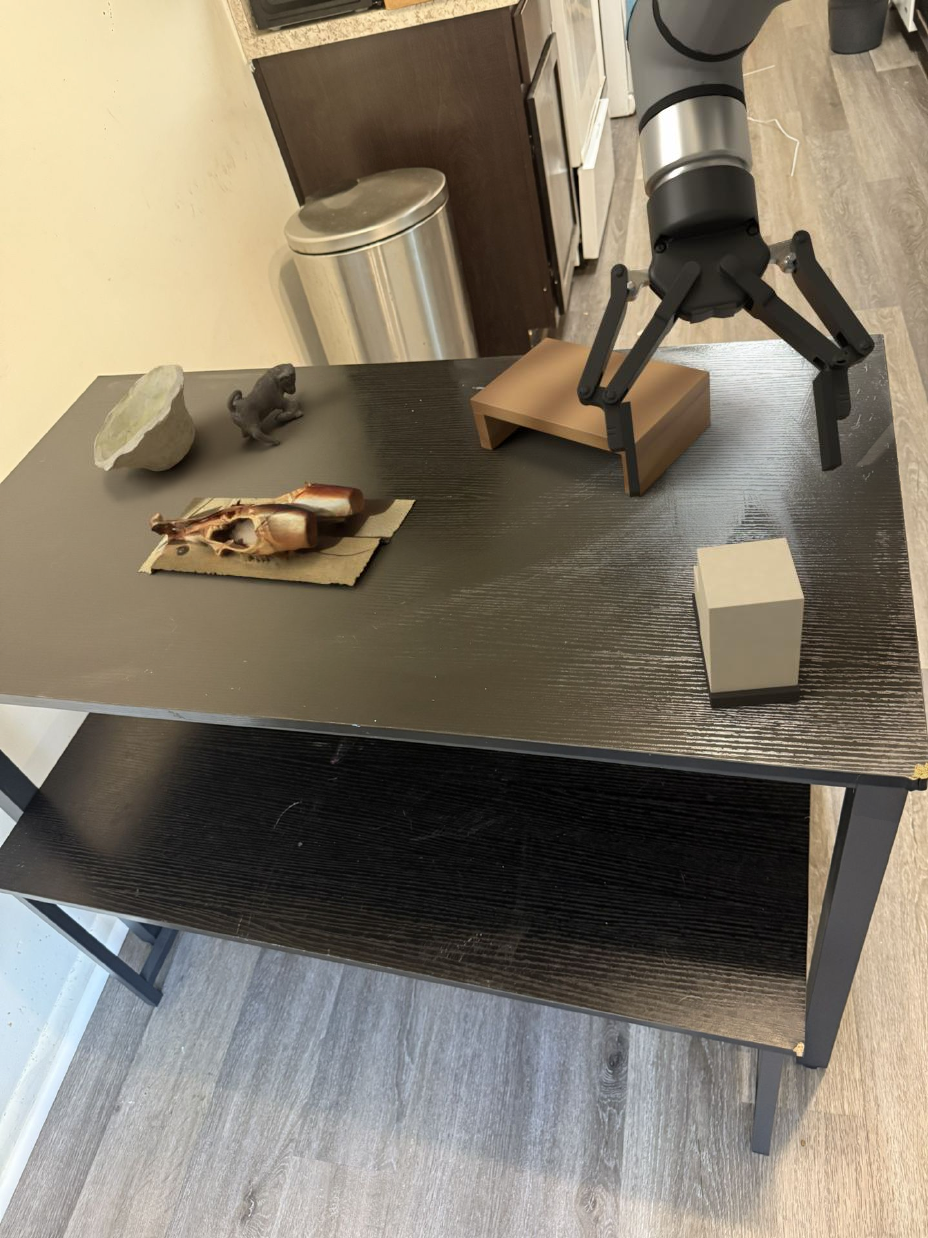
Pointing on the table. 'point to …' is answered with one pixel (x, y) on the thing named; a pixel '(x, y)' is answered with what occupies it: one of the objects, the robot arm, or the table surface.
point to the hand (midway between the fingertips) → (731, 482)
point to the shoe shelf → (548, 401)
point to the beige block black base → (749, 622)
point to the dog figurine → (265, 402)
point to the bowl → (147, 424)
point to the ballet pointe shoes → (279, 535)
